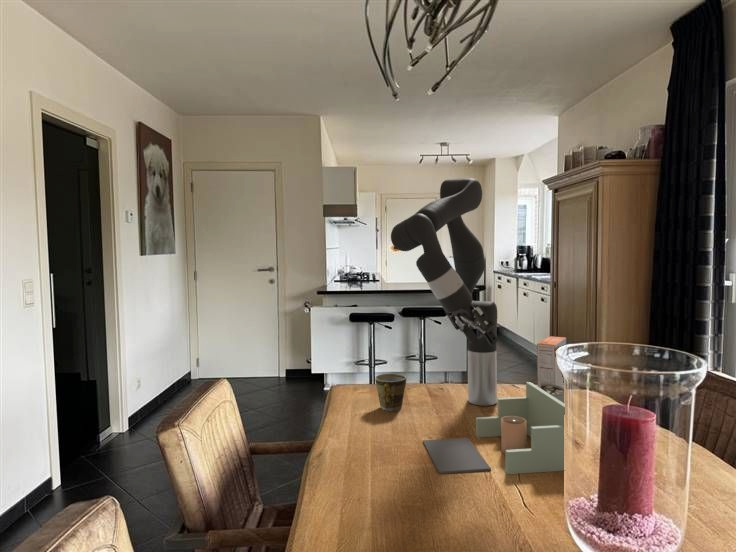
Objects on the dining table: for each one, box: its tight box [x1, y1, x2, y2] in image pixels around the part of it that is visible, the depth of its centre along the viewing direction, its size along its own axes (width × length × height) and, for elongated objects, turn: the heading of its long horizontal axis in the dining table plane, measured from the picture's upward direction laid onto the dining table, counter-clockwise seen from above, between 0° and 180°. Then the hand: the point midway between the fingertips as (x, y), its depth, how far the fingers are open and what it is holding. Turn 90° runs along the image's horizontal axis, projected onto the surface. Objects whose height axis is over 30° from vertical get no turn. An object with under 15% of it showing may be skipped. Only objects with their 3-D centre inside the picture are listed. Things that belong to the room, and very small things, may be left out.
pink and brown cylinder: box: [500, 416, 528, 455], centre depth 118 cm, size 6×6×8 cm
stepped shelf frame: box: [475, 381, 566, 475], centre depth 118 cm, size 22×15×14 cm
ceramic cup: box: [374, 373, 407, 412], centre depth 152 cm, size 13×10×10 cm
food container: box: [541, 383, 565, 404], centre depth 137 cm, size 12×6×10 cm, turn 168°
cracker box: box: [536, 335, 567, 388], centre depth 153 cm, size 14×6×21 cm, turn 144°
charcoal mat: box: [422, 437, 492, 475], centre depth 117 cm, size 18×12×1 cm, turn 5°
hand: (484, 342), depth 118 cm, fingers open, 8 cm apart
